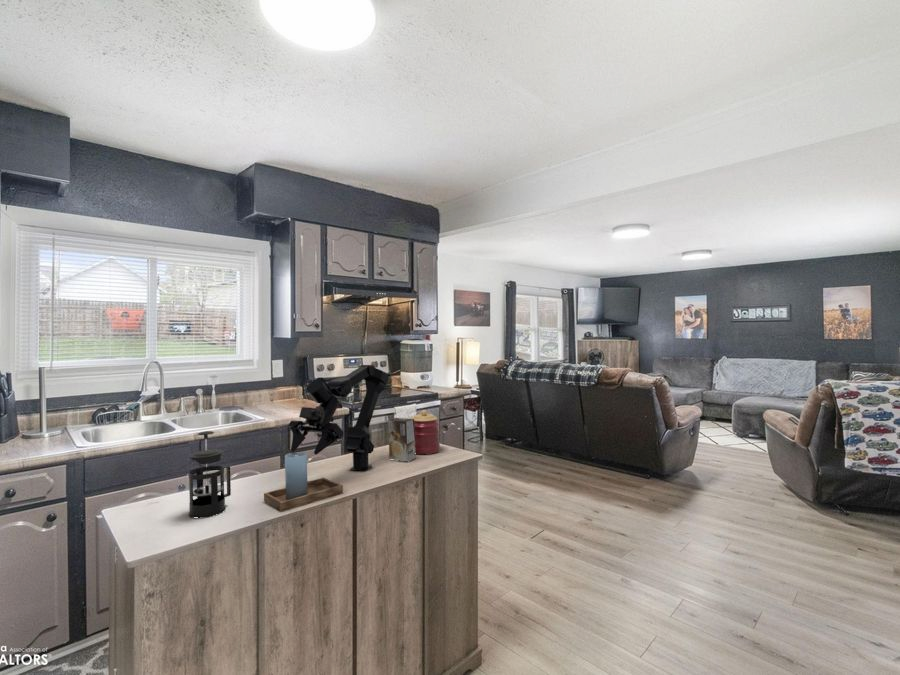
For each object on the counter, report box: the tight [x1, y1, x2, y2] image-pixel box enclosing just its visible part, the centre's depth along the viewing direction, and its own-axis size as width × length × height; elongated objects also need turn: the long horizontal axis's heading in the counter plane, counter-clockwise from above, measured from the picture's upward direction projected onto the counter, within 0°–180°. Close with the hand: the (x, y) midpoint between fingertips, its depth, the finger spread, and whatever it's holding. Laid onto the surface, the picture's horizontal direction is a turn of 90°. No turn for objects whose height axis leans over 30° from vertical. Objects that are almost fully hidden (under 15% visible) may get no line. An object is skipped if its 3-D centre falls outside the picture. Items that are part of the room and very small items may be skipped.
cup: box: [284, 451, 308, 500], centre depth 137 cm, size 6×6×13 cm
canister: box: [410, 409, 441, 455], centre depth 191 cm, size 13×13×18 cm
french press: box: [187, 430, 232, 519], centre depth 129 cm, size 12×9×23 cm
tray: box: [263, 477, 344, 513], centre depth 139 cm, size 20×12×2 cm, turn 135°
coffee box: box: [387, 417, 416, 462], centre depth 180 cm, size 9×6×16 cm
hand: (303, 452), depth 140 cm, fingers open, 9 cm apart
